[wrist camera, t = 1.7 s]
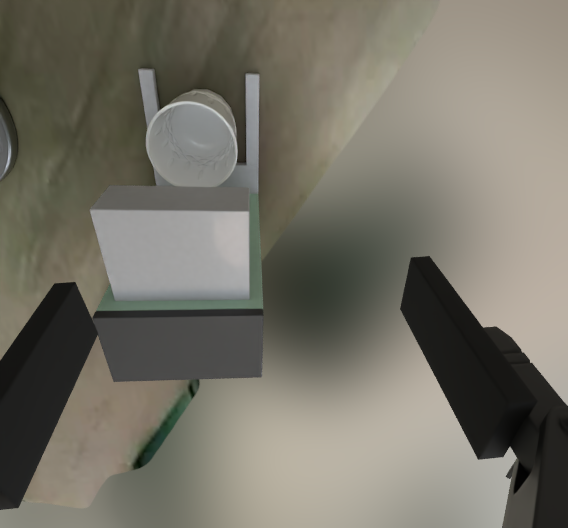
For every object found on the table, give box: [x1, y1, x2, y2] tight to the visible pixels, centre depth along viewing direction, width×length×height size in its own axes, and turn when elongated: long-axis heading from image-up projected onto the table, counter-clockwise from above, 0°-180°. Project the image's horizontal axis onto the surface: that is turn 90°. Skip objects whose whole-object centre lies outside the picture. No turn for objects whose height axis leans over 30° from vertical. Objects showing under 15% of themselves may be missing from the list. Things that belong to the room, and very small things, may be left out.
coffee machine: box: [90, 68, 263, 382], centre depth 34 cm, size 20×12×23 cm, turn 177°
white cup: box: [146, 89, 238, 187], centre depth 36 cm, size 8×8×10 cm
